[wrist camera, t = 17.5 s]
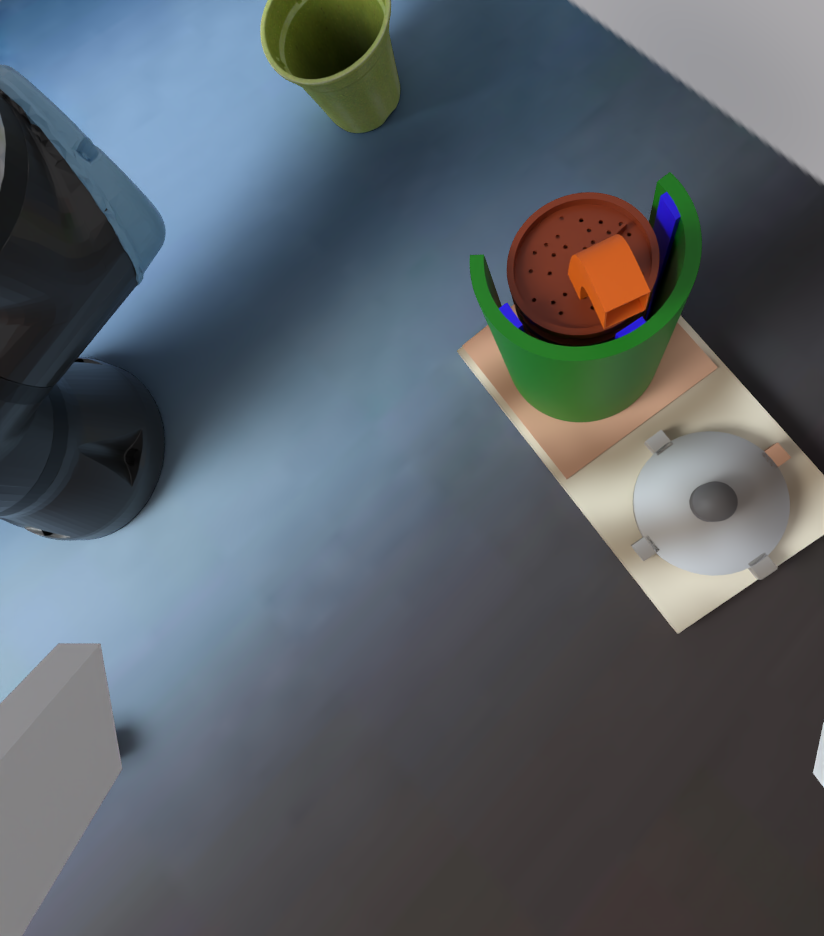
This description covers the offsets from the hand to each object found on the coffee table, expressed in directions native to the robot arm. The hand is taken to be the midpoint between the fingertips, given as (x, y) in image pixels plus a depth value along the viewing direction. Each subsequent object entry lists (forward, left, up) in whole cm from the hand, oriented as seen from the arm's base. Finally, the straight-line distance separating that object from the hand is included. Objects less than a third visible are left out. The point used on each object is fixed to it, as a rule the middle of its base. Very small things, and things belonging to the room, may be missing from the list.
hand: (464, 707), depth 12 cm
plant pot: (-39, +11, -35) cm, 53 cm away
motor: (-10, +11, -33) cm, 37 cm away
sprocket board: (-5, +11, -35) cm, 37 cm away
